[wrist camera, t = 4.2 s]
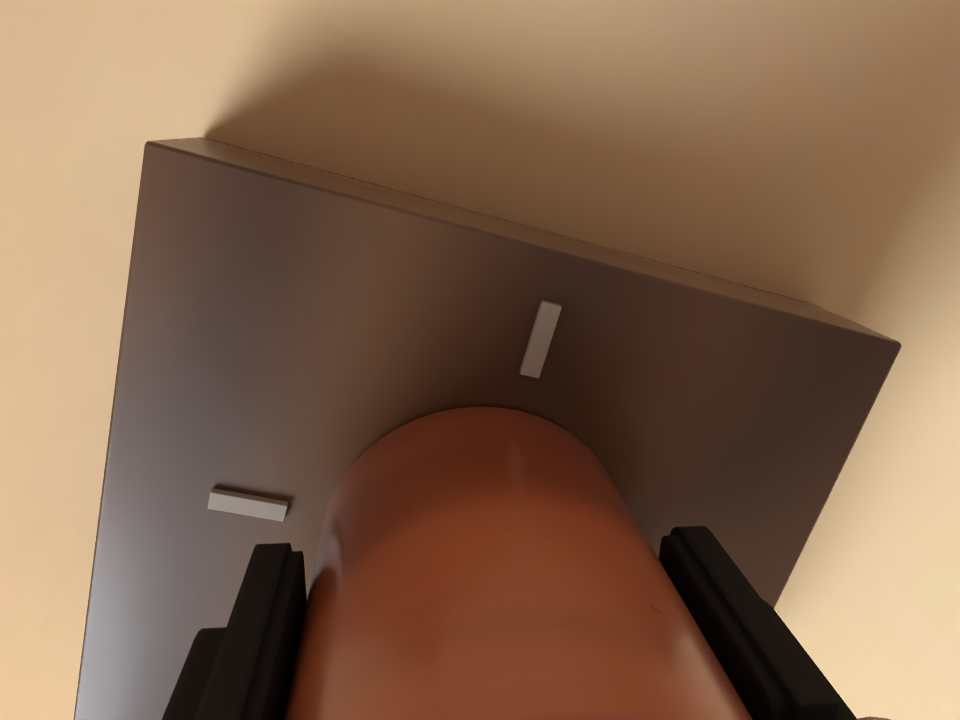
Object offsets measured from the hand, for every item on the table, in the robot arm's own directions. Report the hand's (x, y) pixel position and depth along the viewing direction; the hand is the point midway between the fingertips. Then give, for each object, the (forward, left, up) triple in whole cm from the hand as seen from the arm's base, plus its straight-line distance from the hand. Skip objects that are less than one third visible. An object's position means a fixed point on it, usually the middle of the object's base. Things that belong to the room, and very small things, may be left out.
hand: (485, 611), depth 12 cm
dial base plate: (0, 0, -5) cm, 5 cm away
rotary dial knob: (0, 0, -2) cm, 2 cm away
